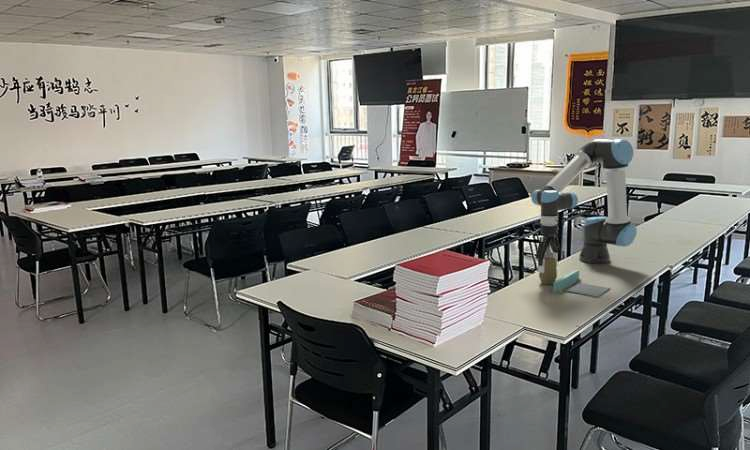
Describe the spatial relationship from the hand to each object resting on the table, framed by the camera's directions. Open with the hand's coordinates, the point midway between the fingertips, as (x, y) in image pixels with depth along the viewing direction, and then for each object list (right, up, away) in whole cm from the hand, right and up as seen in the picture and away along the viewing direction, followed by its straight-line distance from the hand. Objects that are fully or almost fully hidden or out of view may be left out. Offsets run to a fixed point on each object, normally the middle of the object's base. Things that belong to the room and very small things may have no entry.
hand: (547, 269), depth 258 cm
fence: (+7, -8, -5) cm, 11 cm away
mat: (+14, -9, -11) cm, 20 cm away
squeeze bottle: (0, -7, +1) cm, 7 cm away
